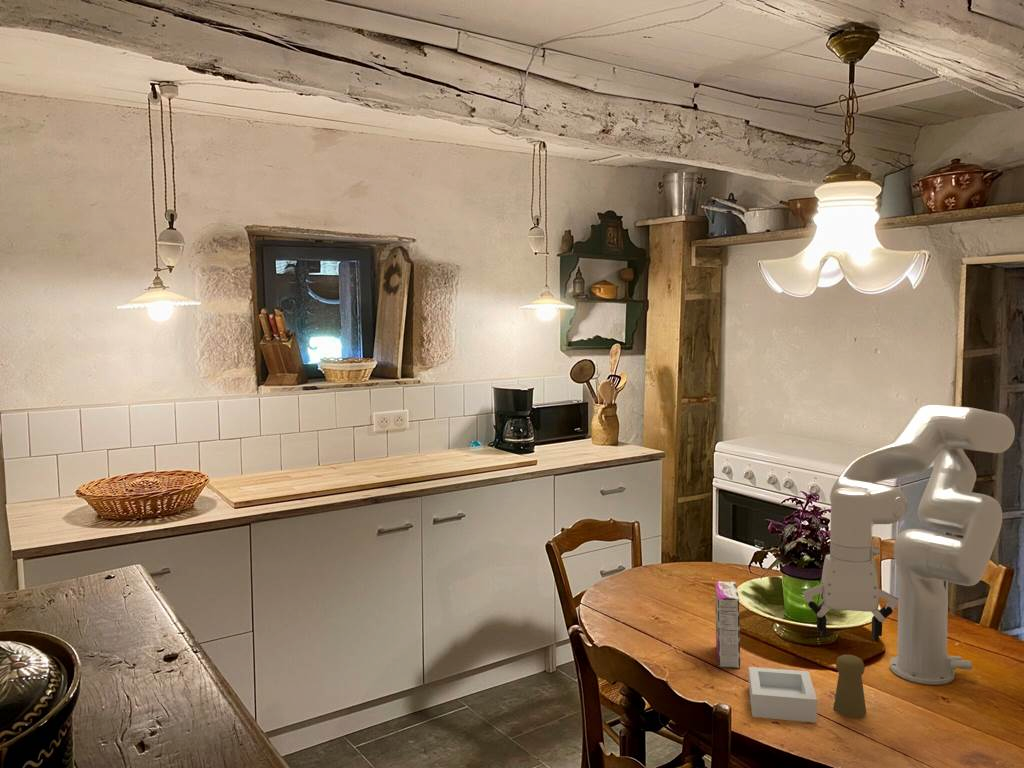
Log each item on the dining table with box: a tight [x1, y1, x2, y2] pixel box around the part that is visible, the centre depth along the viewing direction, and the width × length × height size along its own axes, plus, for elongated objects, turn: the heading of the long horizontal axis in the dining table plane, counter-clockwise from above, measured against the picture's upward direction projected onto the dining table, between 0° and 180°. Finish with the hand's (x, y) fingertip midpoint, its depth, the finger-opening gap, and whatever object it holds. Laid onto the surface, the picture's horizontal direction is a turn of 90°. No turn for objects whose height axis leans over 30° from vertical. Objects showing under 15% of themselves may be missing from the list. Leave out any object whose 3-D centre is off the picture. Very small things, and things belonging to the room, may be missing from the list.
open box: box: [748, 666, 818, 723], centre depth 157 cm, size 12×12×5 cm
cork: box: [833, 654, 867, 719], centre depth 153 cm, size 6×6×11 cm
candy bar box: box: [714, 580, 741, 669], centre depth 178 cm, size 11×5×16 cm, turn 168°
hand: (848, 636), depth 152 cm, fingers open, 9 cm apart
